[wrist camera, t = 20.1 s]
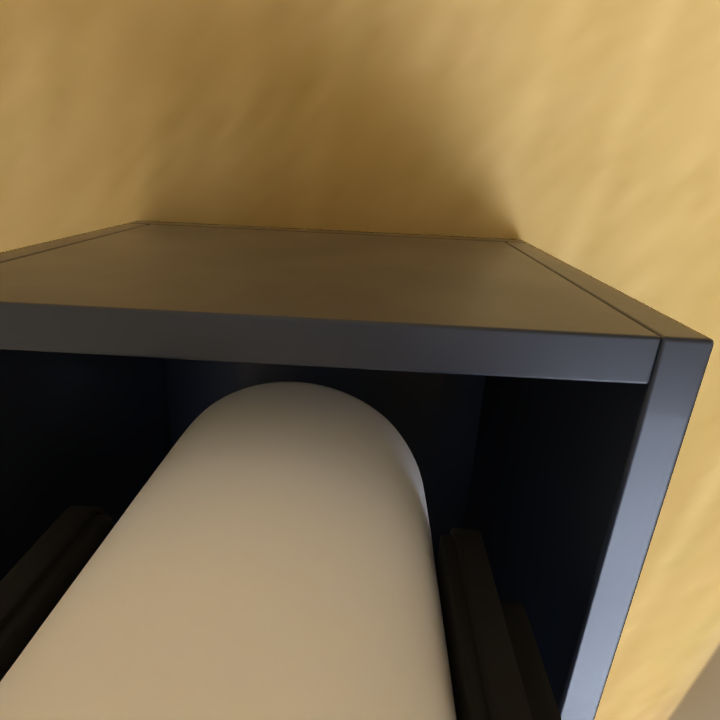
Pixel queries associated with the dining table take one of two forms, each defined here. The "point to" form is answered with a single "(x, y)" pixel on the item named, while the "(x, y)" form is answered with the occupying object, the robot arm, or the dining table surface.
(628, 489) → the bin
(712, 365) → the dining table surface
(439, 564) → the robot arm
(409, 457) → the can
